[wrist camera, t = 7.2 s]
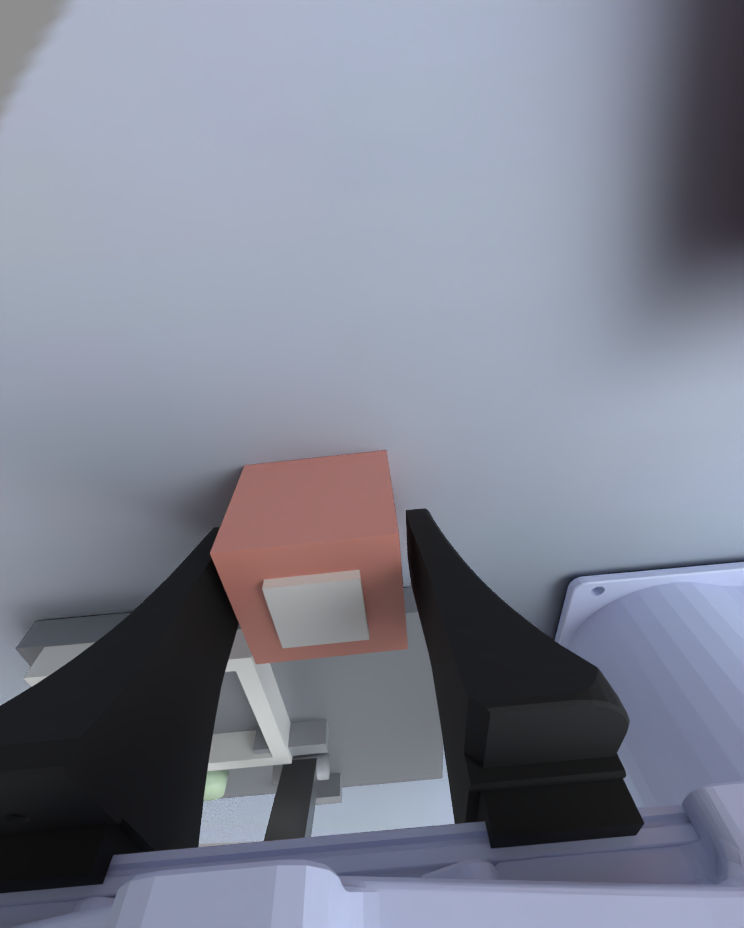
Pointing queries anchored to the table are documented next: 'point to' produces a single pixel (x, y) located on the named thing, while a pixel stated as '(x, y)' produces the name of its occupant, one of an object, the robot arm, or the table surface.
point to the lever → (296, 796)
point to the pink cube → (314, 558)
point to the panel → (297, 709)
